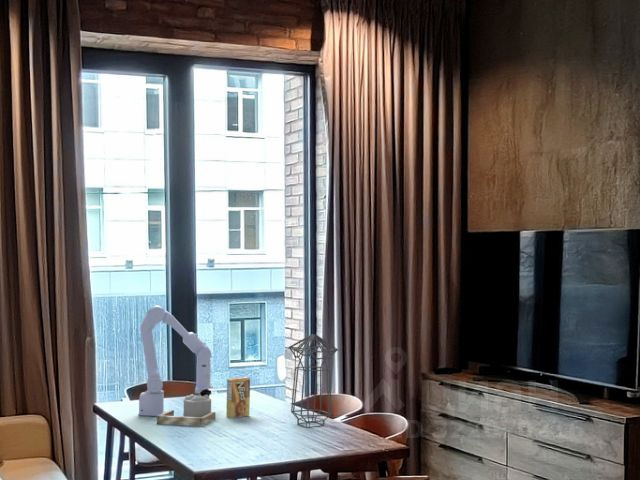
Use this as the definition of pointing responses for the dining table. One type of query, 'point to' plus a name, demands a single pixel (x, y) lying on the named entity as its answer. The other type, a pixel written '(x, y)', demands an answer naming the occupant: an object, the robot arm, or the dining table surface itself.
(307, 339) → the geometric lantern
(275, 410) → the dining table surface
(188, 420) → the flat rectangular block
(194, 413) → the lumpy-topped squat cylinder
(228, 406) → the candy box
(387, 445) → the dining table surface
